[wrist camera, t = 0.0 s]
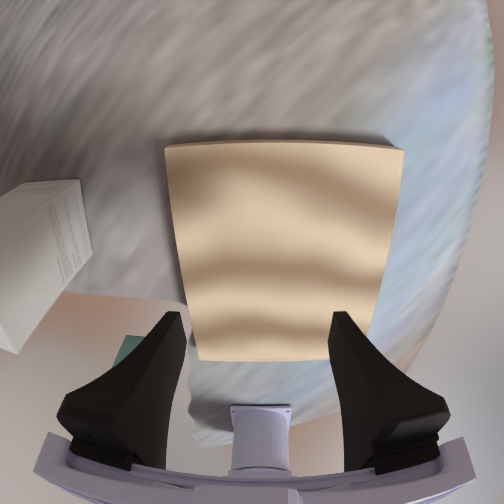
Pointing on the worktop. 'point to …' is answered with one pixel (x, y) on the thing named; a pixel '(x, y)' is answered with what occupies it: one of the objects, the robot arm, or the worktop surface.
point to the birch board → (280, 240)
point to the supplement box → (38, 253)
